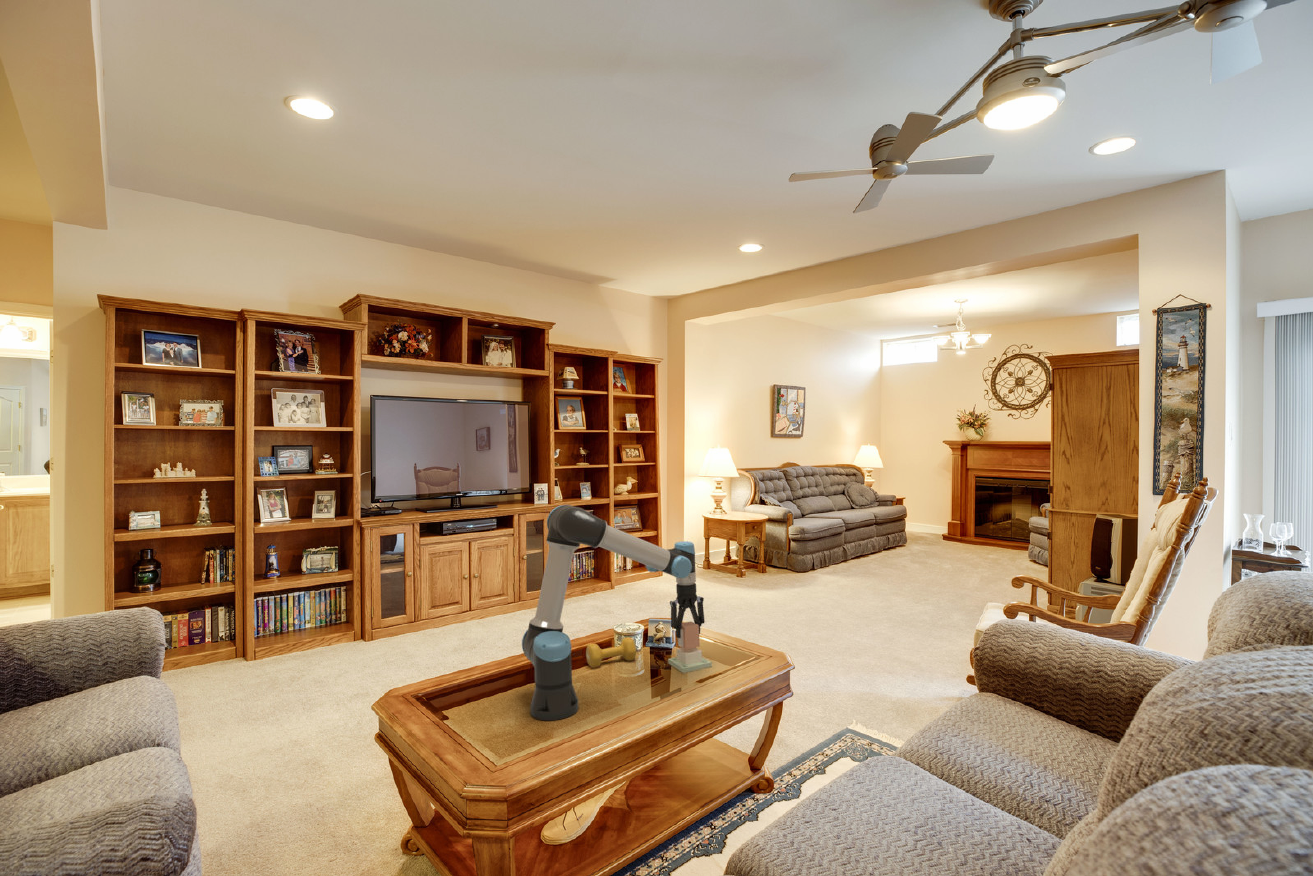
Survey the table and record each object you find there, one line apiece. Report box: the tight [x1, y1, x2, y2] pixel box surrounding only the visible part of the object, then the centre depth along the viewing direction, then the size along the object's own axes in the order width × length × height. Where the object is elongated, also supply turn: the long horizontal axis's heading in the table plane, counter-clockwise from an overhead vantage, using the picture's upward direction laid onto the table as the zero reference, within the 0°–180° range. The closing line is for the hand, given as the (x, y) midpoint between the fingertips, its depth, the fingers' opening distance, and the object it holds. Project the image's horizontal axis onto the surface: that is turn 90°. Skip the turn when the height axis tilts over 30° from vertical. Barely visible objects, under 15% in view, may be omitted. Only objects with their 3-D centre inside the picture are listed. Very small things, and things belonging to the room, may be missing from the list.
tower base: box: [667, 647, 712, 674], centre depth 228 cm, size 12×12×6 cm
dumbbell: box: [585, 636, 637, 669], centre depth 234 cm, size 19×9×8 cm, turn 113°
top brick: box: [681, 620, 701, 649], centre depth 228 cm, size 6×6×8 cm
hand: (688, 644), depth 228 cm, fingers closed on top brick, 6 cm apart
